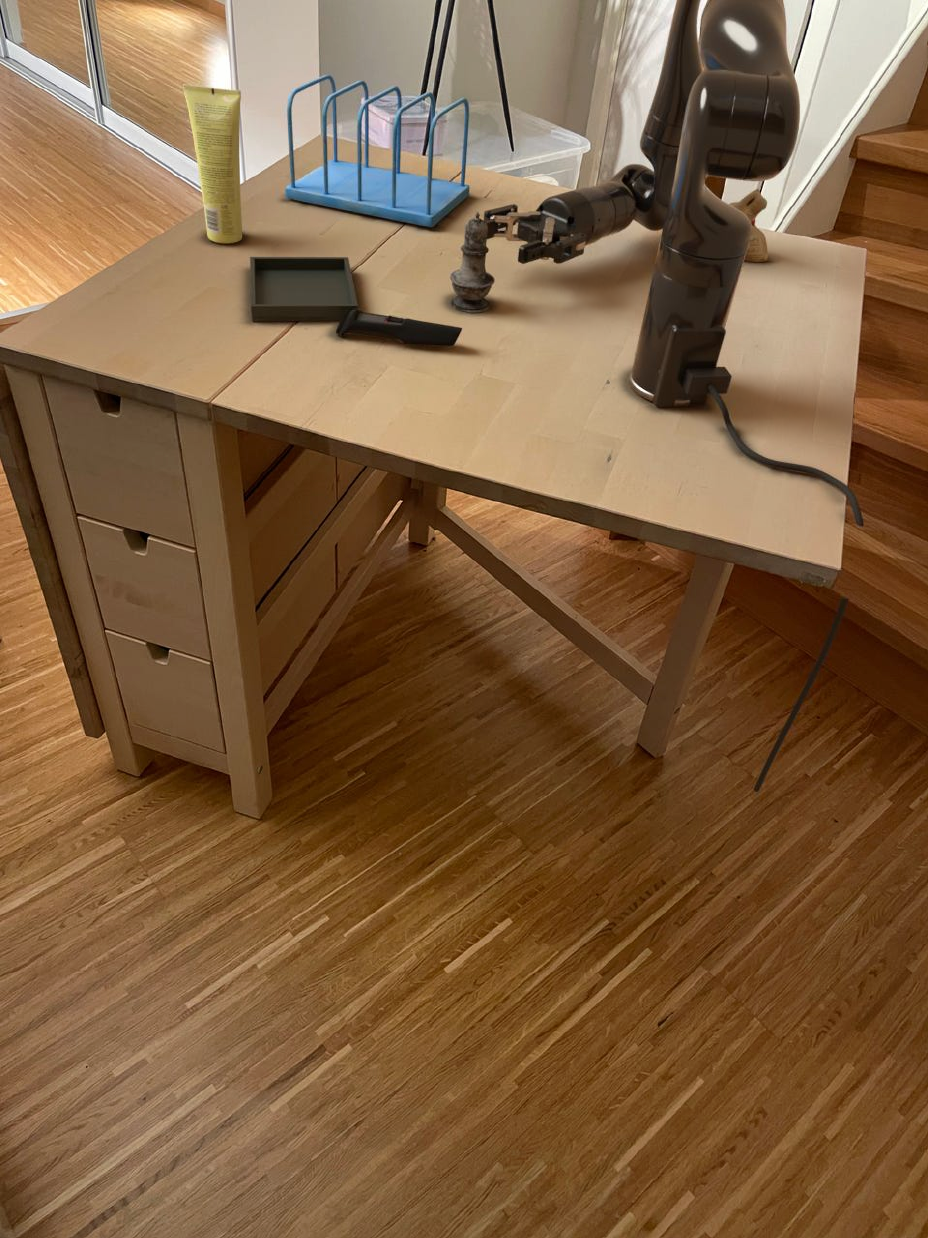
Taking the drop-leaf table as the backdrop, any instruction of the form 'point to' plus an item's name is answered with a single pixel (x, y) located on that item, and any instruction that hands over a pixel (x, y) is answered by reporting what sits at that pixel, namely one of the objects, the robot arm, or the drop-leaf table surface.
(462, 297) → the salt shaker
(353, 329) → the electric trimmer
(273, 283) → the tray
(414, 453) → the drop-leaf table surface
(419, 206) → the file sorter
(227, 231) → the tube
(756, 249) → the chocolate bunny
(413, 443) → the drop-leaf table surface
